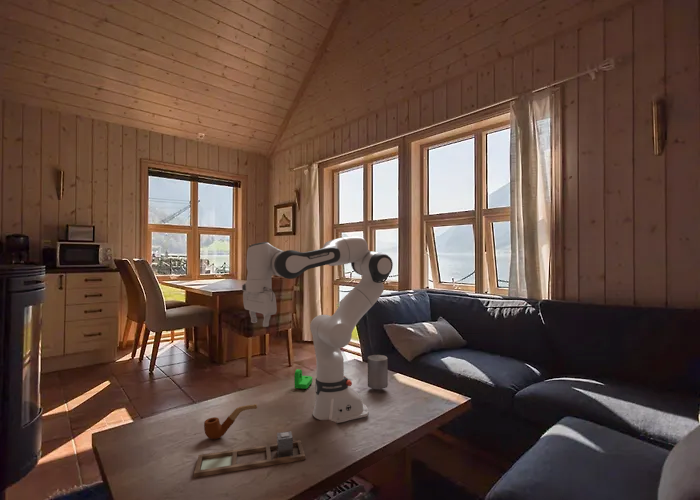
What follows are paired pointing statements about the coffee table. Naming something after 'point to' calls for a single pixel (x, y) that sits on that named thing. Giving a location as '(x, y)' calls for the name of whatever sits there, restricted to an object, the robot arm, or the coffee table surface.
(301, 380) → the mechanical part
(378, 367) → the pillar candle
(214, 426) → the smoking pipe
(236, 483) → the coffee table surface
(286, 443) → the gray rectangular block
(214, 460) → the divided wooden frame
